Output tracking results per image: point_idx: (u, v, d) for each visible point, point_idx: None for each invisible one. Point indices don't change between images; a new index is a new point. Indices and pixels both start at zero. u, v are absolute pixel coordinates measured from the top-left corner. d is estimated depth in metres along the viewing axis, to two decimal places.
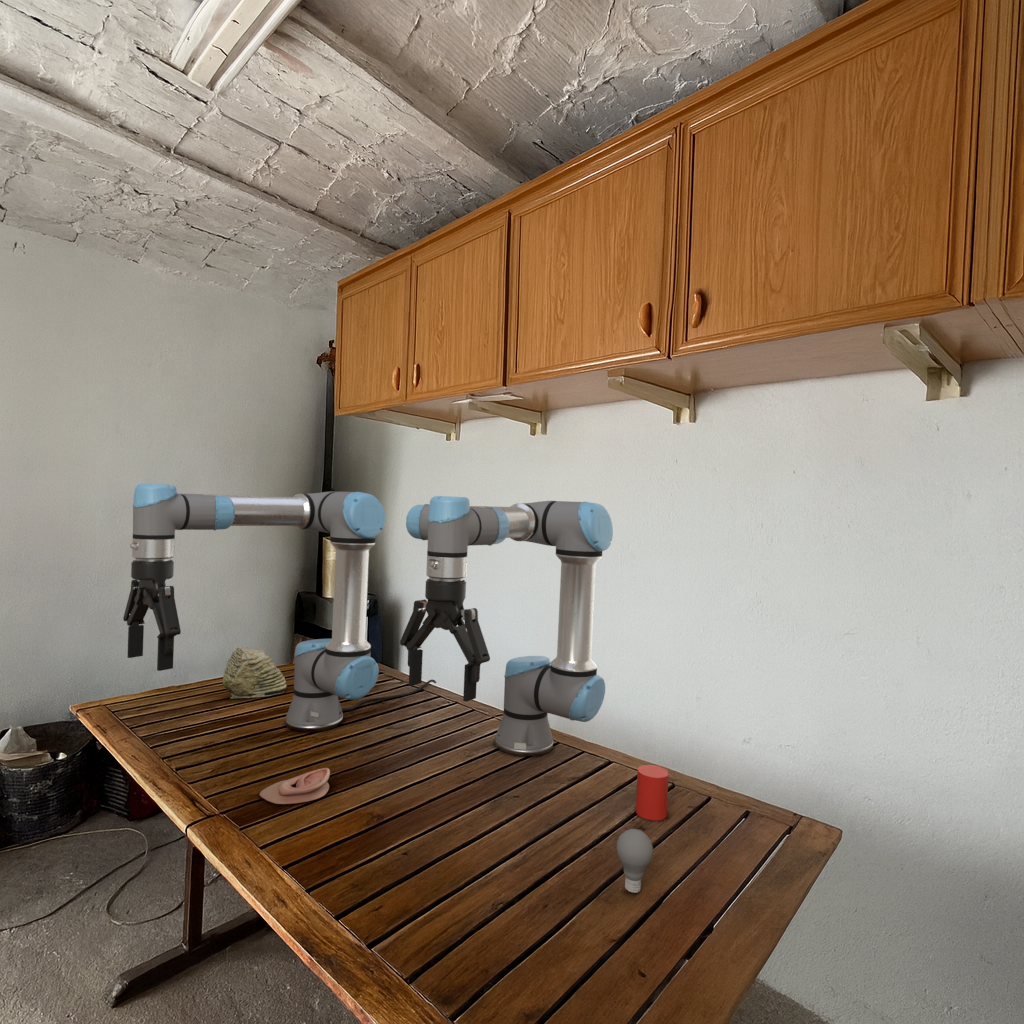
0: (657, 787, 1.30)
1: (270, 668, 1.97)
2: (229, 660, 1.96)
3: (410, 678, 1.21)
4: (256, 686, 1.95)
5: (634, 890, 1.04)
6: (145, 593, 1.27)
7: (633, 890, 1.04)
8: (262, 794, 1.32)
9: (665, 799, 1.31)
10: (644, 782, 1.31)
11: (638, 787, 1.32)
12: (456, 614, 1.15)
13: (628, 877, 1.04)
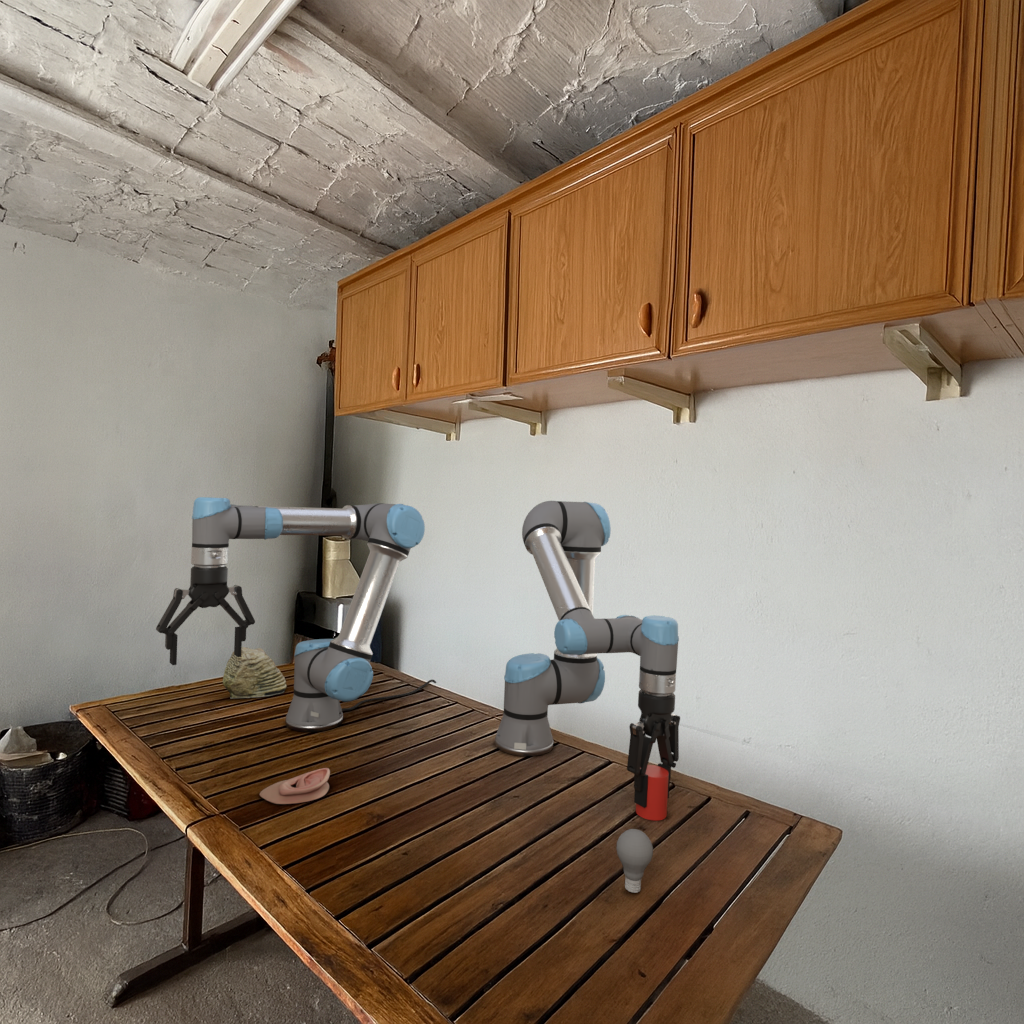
0: (657, 787, 1.30)
1: (270, 668, 1.97)
2: (229, 660, 1.96)
3: (645, 800, 1.30)
4: (256, 686, 1.95)
5: (634, 890, 1.04)
6: (218, 595, 1.42)
7: (633, 890, 1.04)
8: (262, 794, 1.32)
9: (665, 799, 1.31)
10: None
11: None
12: (670, 719, 1.34)
13: (628, 877, 1.04)
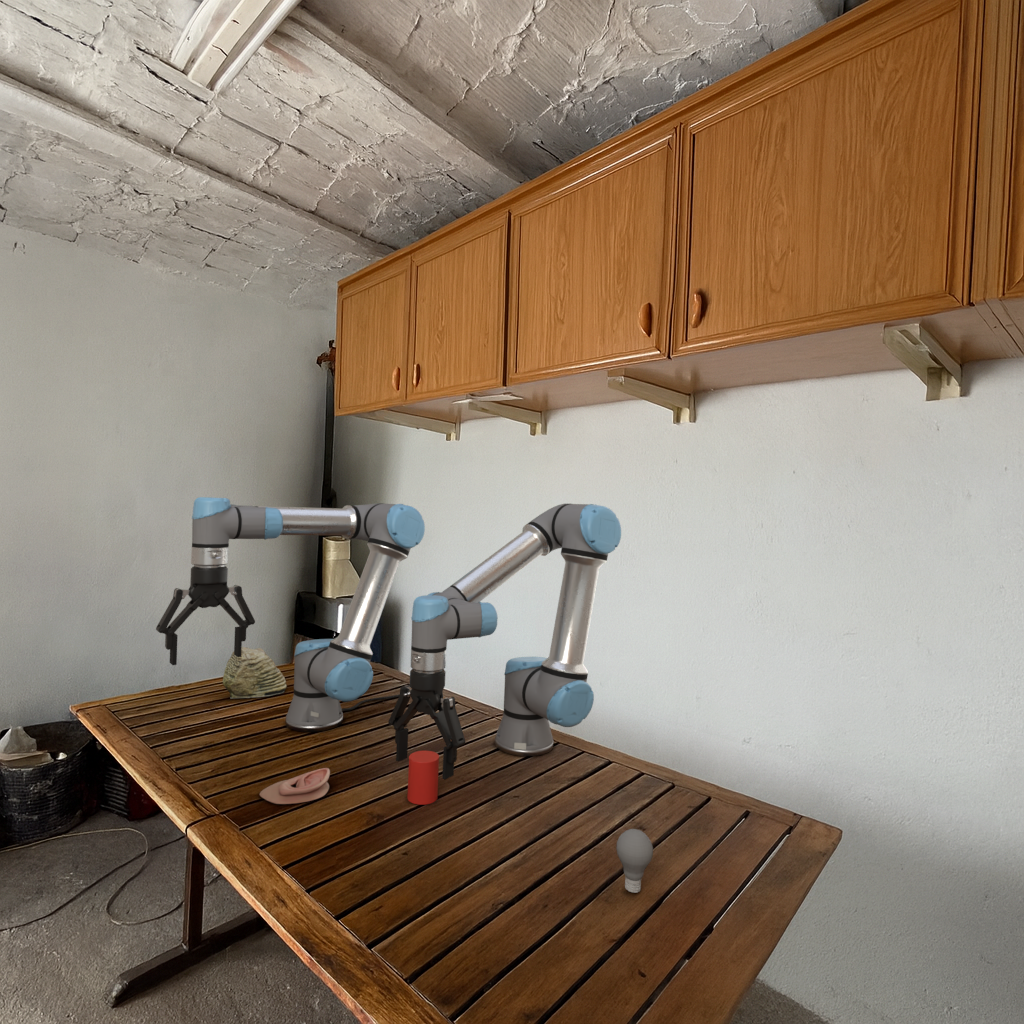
0: (409, 767, 1.34)
1: (270, 668, 1.97)
2: (229, 660, 1.96)
3: (397, 755, 1.38)
4: (256, 686, 1.95)
5: (634, 890, 1.04)
6: (218, 595, 1.42)
7: (633, 890, 1.04)
8: (262, 794, 1.32)
9: (414, 784, 1.32)
10: None
11: None
12: (436, 702, 1.32)
13: (628, 877, 1.04)
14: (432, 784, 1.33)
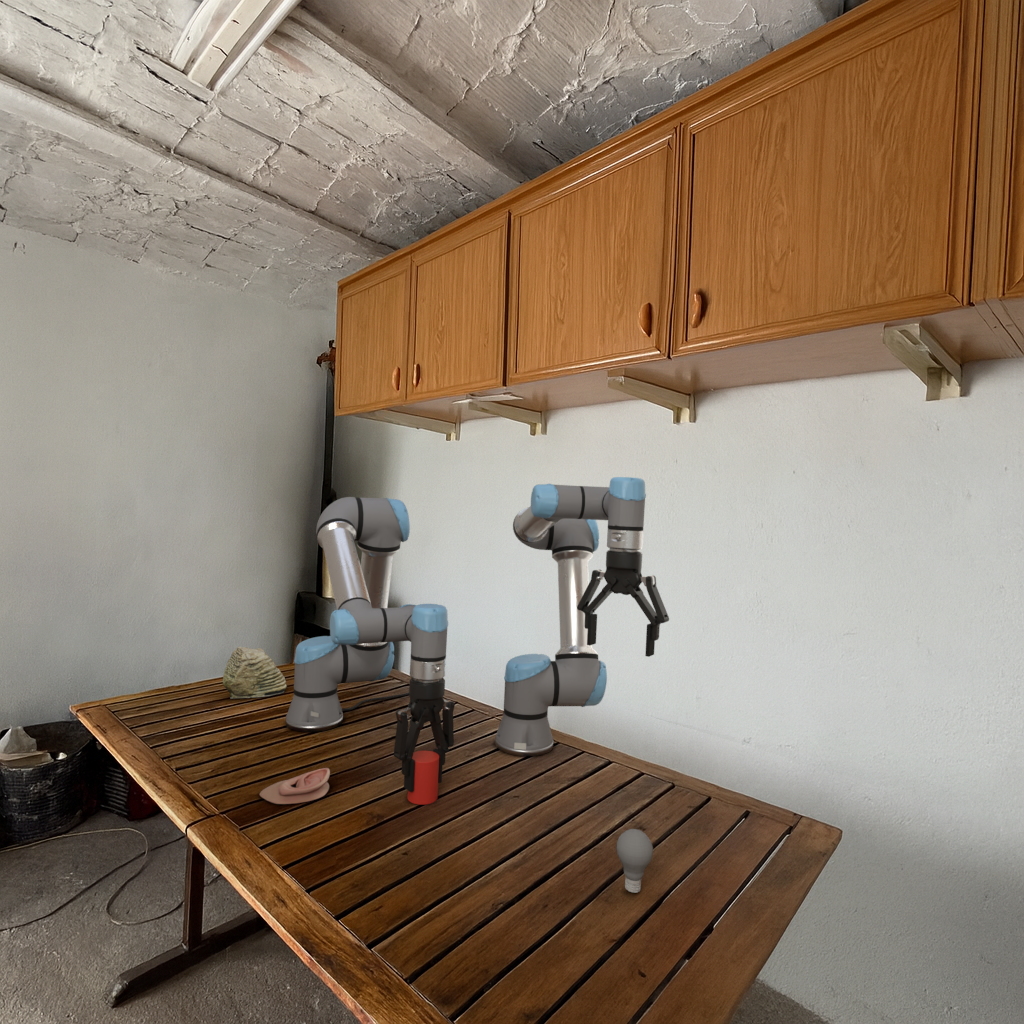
0: None
1: (270, 668, 1.97)
2: (229, 660, 1.96)
3: (588, 639, 1.37)
4: (256, 686, 1.95)
5: (634, 890, 1.04)
6: (437, 709, 1.35)
7: (633, 890, 1.04)
8: (262, 794, 1.32)
9: (414, 784, 1.32)
10: None
11: None
12: (637, 580, 1.31)
13: (628, 877, 1.04)
14: (432, 783, 1.33)
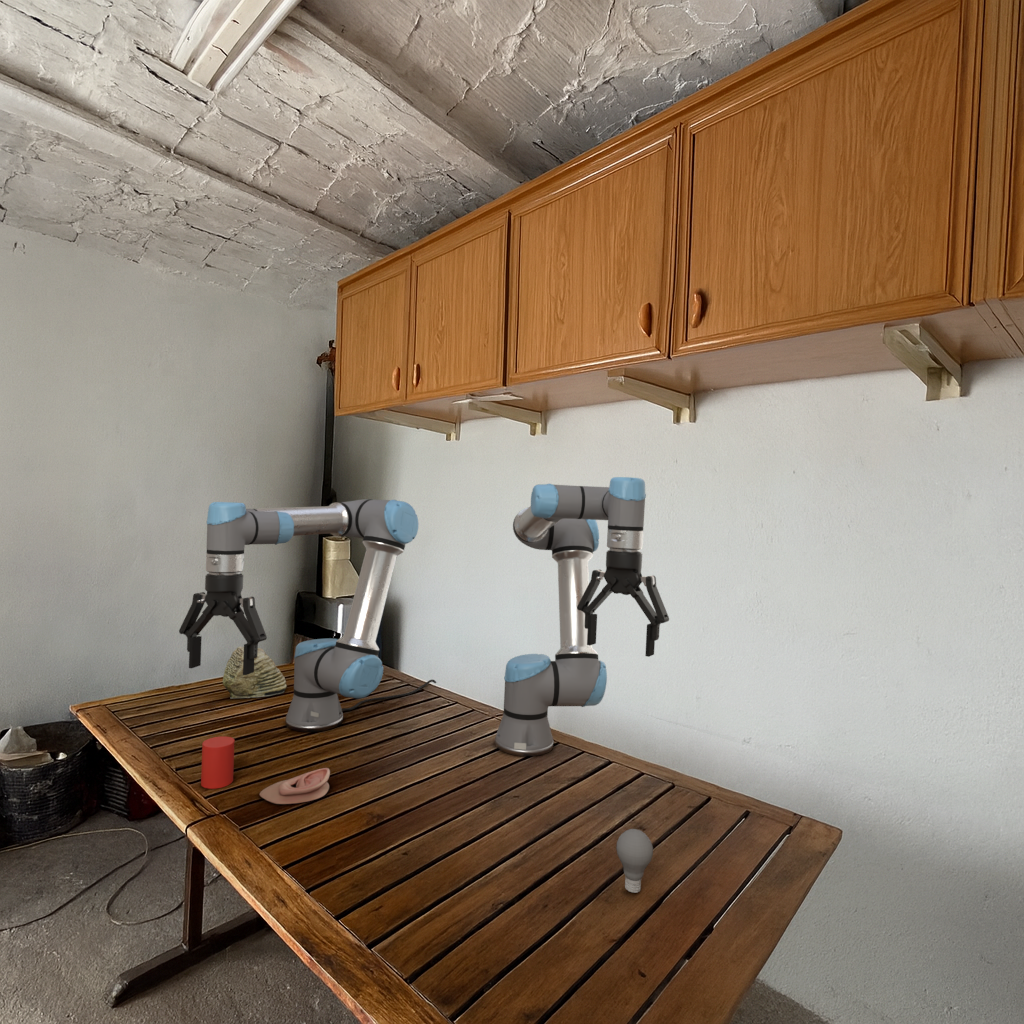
0: None
1: (270, 668, 1.97)
2: (229, 660, 1.96)
3: (588, 639, 1.37)
4: (256, 686, 1.95)
5: (634, 890, 1.04)
6: (224, 605, 1.35)
7: (633, 890, 1.04)
8: (262, 794, 1.32)
9: None
10: None
11: None
12: (637, 580, 1.31)
13: (628, 877, 1.04)
14: (208, 769, 1.35)
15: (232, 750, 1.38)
